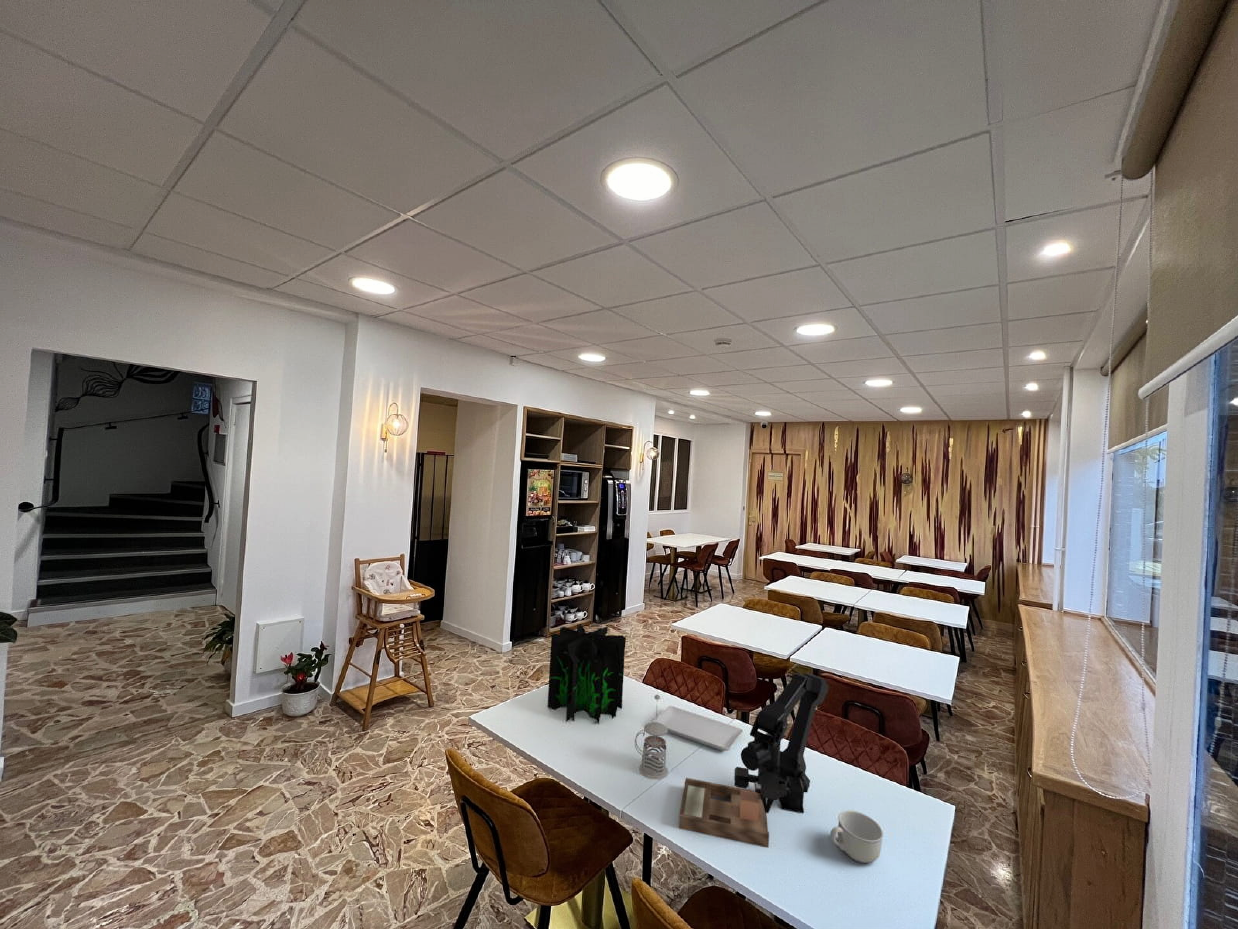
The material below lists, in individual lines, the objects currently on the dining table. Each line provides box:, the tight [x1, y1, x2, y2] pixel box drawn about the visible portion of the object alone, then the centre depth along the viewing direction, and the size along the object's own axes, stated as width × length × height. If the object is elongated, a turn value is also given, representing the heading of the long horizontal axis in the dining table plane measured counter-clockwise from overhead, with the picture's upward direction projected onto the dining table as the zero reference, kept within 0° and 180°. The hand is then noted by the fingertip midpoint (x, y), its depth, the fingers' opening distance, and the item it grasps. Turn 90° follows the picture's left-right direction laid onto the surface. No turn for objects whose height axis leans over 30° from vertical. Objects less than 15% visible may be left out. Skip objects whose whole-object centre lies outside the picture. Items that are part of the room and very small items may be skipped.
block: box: [740, 789, 759, 822], centre depth 143 cm, size 5×5×5 cm
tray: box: [651, 705, 744, 752], centre depth 190 cm, size 17×32×4 cm, turn 58°
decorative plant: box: [547, 623, 627, 724], centre depth 207 cm, size 29×30×30 cm
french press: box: [634, 694, 669, 781], centre depth 165 cm, size 10×12×25 cm
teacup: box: [830, 809, 884, 864], centre depth 132 cm, size 14×11×8 cm
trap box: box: [678, 777, 770, 848], centre depth 144 cm, size 24×18×4 cm
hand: (766, 812), depth 141 cm, fingers closed
